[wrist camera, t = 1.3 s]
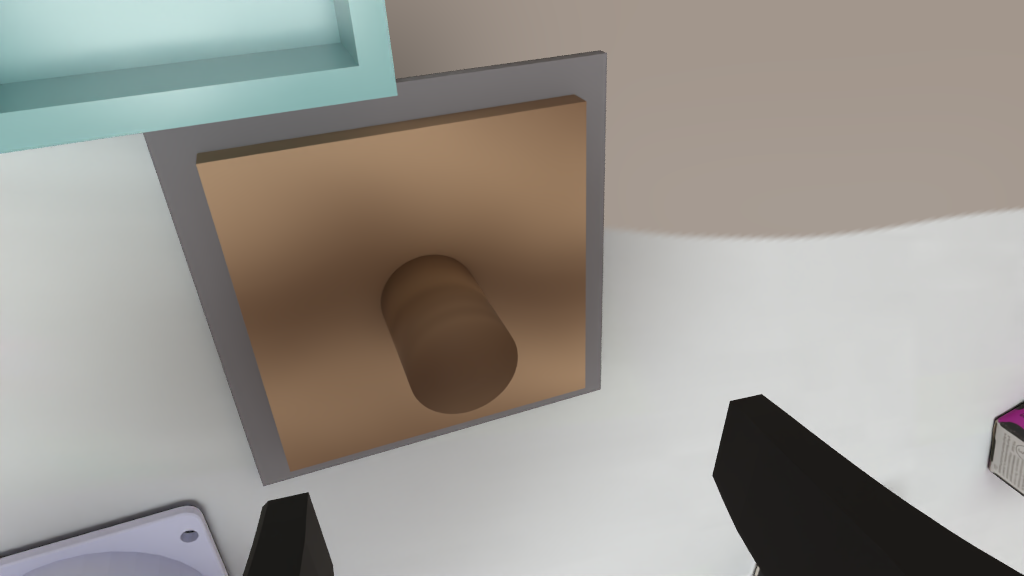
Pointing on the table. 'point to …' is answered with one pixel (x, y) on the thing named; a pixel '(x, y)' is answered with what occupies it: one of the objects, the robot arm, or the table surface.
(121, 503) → the table surface
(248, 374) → the mat
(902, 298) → the table surface
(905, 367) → the table surface
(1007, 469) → the candy bar box
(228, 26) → the teal square tray
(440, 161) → the lid
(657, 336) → the table surface
